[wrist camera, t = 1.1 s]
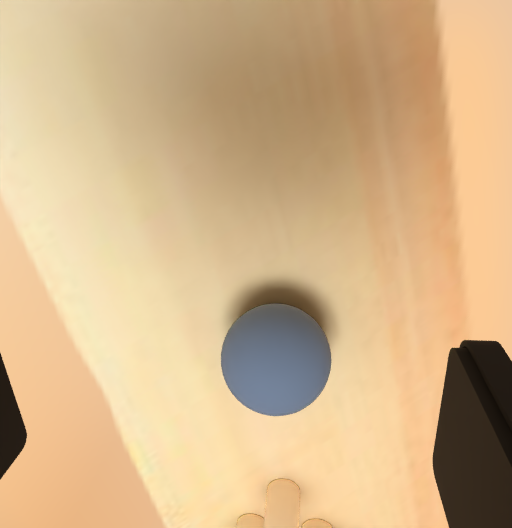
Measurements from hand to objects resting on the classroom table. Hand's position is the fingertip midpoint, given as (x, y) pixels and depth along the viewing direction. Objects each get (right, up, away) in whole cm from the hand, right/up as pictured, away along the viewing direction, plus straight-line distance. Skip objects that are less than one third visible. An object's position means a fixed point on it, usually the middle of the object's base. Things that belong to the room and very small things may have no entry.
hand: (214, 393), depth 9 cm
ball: (+2, -3, +16) cm, 16 cm away
